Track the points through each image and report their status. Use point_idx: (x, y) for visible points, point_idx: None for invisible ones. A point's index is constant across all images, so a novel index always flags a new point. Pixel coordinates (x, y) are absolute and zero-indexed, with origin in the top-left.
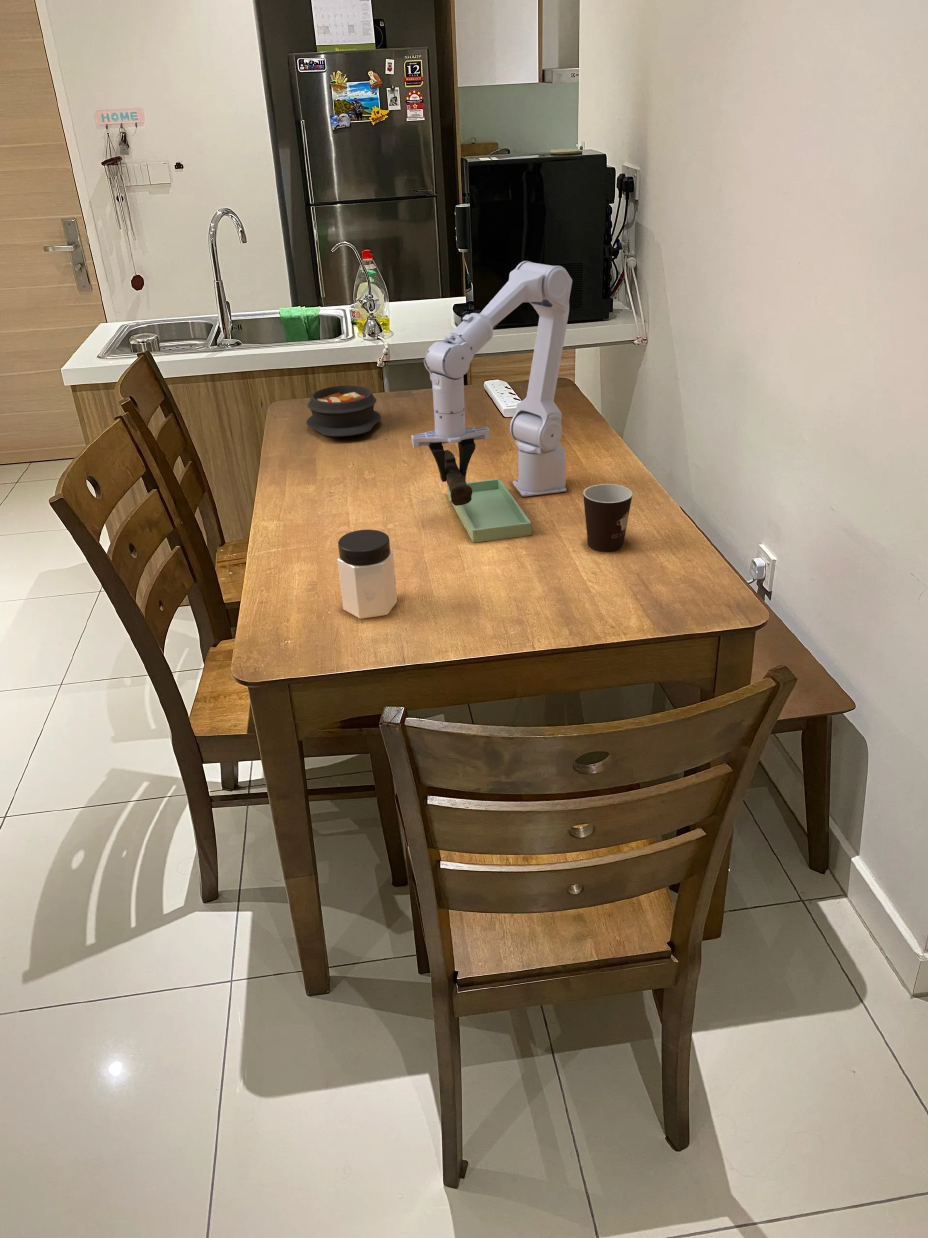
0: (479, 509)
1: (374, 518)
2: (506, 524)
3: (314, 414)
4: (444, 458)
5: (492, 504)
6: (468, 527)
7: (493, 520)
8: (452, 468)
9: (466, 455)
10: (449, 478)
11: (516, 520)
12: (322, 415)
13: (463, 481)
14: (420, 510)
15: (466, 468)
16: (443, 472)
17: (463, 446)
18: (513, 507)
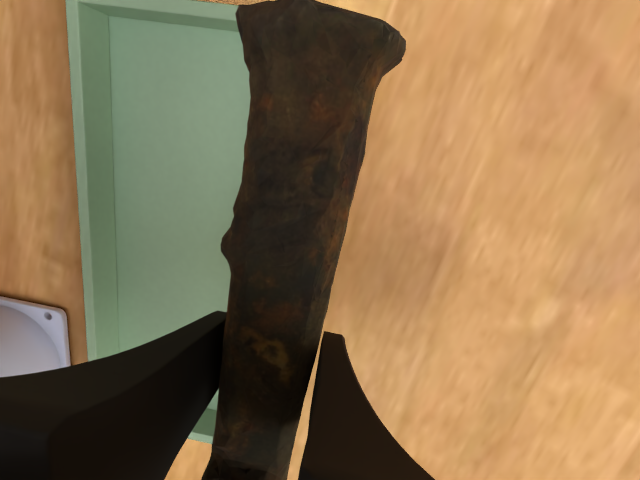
0: (216, 279)
1: (565, 392)
2: (164, 118)
3: None
4: (314, 421)
5: (166, 294)
6: None
7: (198, 172)
8: (260, 381)
9: (106, 377)
10: (327, 268)
11: (123, 135)
12: None
13: (260, 138)
14: (394, 375)
15: (176, 332)
16: (335, 359)
17: (46, 448)
18: (105, 216)
